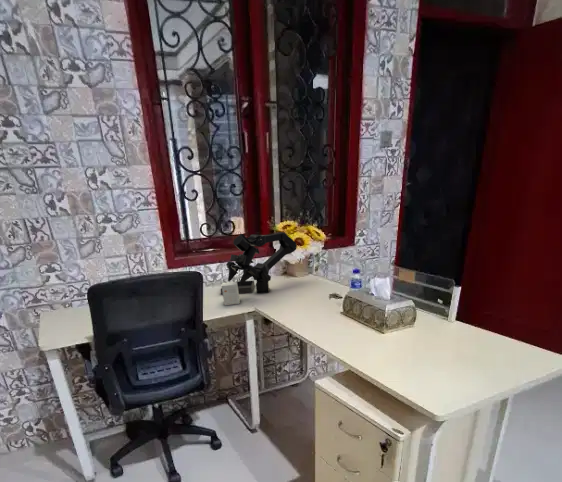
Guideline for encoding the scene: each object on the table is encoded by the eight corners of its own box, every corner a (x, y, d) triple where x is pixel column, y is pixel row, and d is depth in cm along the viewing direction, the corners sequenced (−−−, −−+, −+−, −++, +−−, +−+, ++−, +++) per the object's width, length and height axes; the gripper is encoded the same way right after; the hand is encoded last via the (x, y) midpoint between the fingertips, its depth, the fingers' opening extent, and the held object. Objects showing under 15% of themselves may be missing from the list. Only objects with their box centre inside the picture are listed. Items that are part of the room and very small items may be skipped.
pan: (254, 285, 242) (253, 280, 241) (251, 292, 231) (251, 287, 229) (225, 287, 244) (224, 282, 242) (221, 294, 232) (220, 289, 231)
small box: (239, 300, 220) (237, 281, 215) (239, 303, 215) (237, 284, 210) (224, 301, 220) (222, 282, 215) (224, 305, 215) (221, 285, 210)
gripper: (226, 245, 216) (212, 271, 215) (250, 249, 204) (236, 277, 203) (239, 257, 225) (226, 282, 223) (263, 261, 213) (249, 288, 211)
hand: (234, 282), depth 215 cm, fingers open, 9 cm apart
